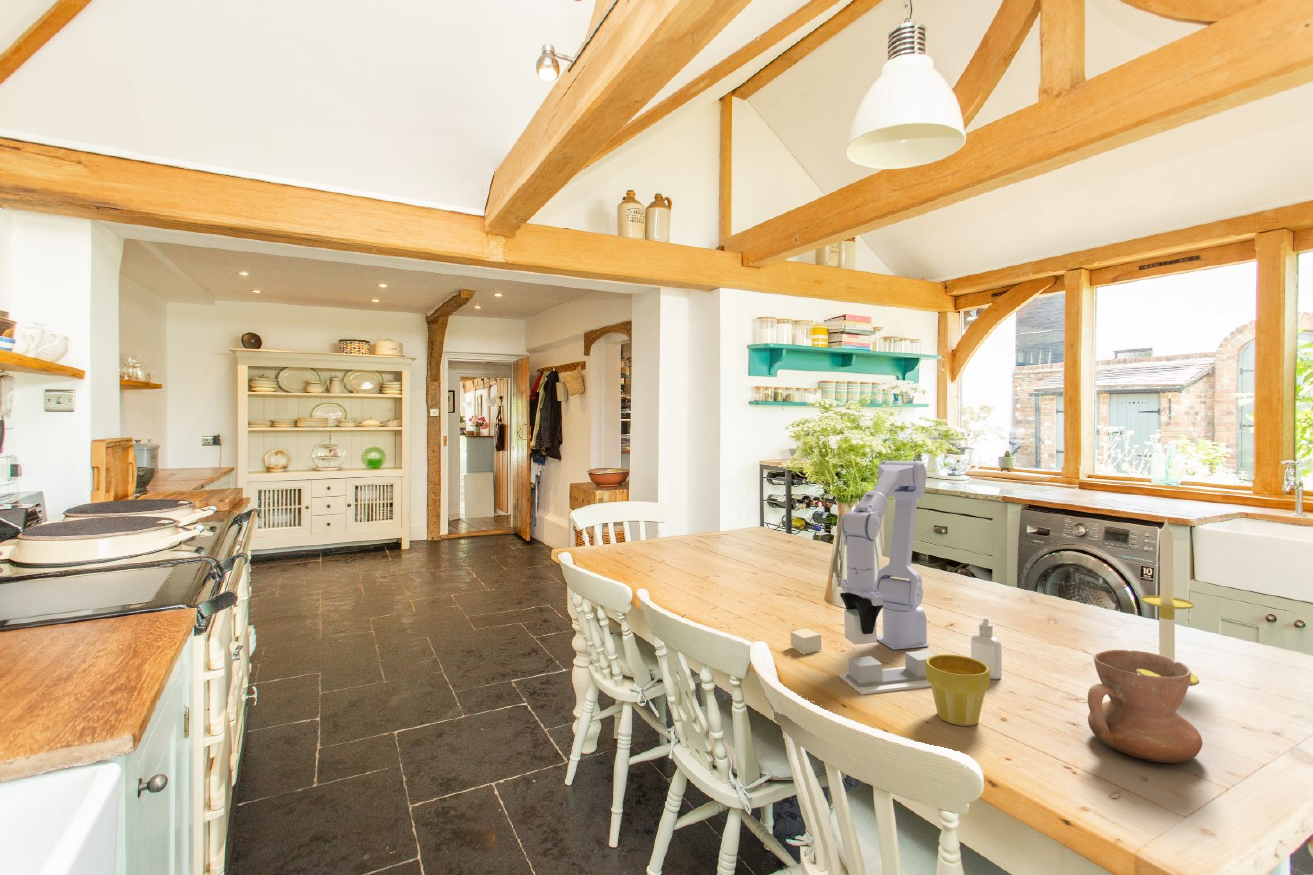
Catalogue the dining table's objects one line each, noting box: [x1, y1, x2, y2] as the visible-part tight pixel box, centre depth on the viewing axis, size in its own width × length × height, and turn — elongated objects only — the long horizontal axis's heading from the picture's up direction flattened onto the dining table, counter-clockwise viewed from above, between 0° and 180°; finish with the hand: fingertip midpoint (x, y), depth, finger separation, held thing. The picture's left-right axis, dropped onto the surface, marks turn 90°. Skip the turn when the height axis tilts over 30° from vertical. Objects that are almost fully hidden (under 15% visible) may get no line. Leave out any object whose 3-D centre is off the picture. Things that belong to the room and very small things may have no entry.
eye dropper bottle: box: [970, 617, 1003, 680], centre depth 130 cm, size 4×6×12 cm
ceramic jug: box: [1087, 649, 1203, 764], centre depth 100 cm, size 18×14×14 cm
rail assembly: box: [838, 649, 935, 696], centre depth 128 cm, size 20×9×5 cm, turn 101°
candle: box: [1137, 518, 1200, 686], centre depth 128 cm, size 10×10×32 cm
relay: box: [790, 627, 822, 655], centre depth 147 cm, size 5×5×4 cm
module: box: [843, 609, 878, 645], centre depth 134 cm, size 5×4×6 cm
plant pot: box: [926, 653, 991, 727], centre depth 112 cm, size 10×10×10 cm
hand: (861, 629), depth 135 cm, fingers closed on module, 4 cm apart
